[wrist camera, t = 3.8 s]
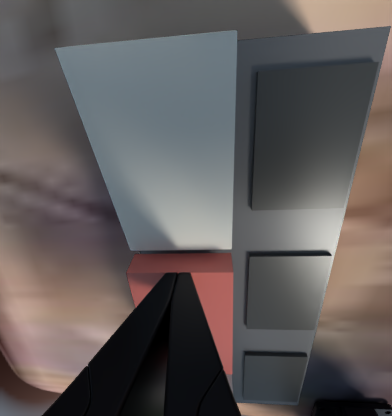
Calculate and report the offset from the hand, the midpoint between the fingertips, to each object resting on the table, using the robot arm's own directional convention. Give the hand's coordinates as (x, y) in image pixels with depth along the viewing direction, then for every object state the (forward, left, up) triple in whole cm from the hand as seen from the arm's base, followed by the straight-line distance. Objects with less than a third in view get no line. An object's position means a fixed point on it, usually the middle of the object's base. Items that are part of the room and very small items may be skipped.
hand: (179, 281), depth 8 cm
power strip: (-3, -2, -6) cm, 7 cm away
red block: (-3, 0, -1) cm, 3 cm away
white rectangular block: (+4, 0, -1) cm, 4 cm away
